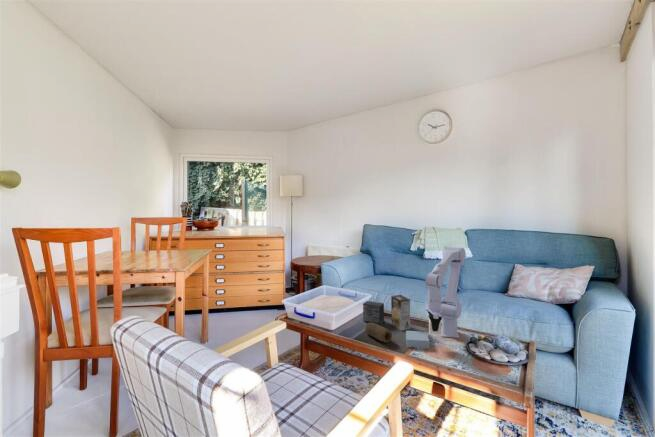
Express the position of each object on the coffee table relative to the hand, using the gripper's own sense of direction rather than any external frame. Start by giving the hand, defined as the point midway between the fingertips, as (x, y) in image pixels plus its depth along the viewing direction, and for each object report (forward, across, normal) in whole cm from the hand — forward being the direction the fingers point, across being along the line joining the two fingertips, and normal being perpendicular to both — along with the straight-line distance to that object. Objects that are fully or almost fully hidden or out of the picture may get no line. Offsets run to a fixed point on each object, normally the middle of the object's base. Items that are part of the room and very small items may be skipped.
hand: (434, 328), depth 141 cm
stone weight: (+9, -4, -26) cm, 28 cm away
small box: (+9, -25, -30) cm, 41 cm away
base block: (+9, -2, -8) cm, 12 cm away
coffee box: (+9, -20, -16) cm, 27 cm away
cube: (+2, 0, 0) cm, 2 cm away
